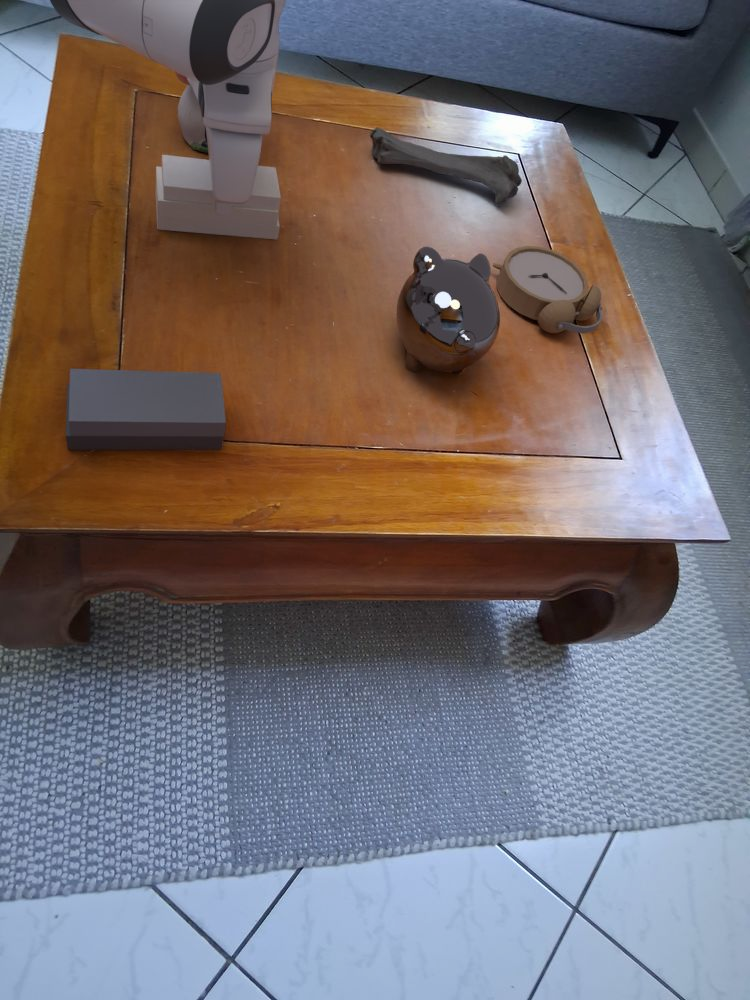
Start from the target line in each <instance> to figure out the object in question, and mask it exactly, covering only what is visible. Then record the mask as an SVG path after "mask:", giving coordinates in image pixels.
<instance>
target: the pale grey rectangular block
mask: <svg viewBox="0 0 750 1000" xmlns="http://www.w3.org/2000/svg"><path fill="white" fill-rule="evenodd" d="M161 167H162V183H163V199H167V200H177V201H188V202H198V203H208V204H215V200H214V197H213V192H212V179H211V170H210V161H209V159H203V158H197V157H188V156H180V155H179V156H178V155H170V154H162V155H161ZM281 198H282V196H281V191H280V184H279V179H278V174H277V168H276V167H275V166H268V165H267V166H266V165H258V168H257V172H256V177H255V181H254V186H253V190H252V194H251V197H250V199H249V200H248V202H247V203H246V204H233V206H239V207H249V208H259V209H270V210H279V211H280V205H281V200H282V199H281Z"/></svg>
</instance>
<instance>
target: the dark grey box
mask: <svg viewBox="0 0 750 1000" xmlns="http://www.w3.org/2000/svg"><path fill="white" fill-rule="evenodd" d="M223 389H224V388H223V378H222V373H221V372H199V371H196V372H195V371H193V372H192V371H162V370H130V369H129V370H127V369H96V368H95V369H94V368H93V369H92V368H91V369H89V368H70V369H69V383H68V384H67V385H66V412H65V413H66V414H65V416H66V417H65V422H66V423H65V441H66V447H67V451H68V450H69V451H71V450H72V451H122V450H123V451H132V450H133V451H171V450H172V451H190V450H191V451H210V450H211V451H212V450H213V451H221V450H223V444H224V439H225V431H226V424H227V420H226V419H227V418H226V409H225V399H224V390H223Z"/></svg>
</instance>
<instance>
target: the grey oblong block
mask: <svg viewBox="0 0 750 1000" xmlns="http://www.w3.org/2000/svg"><path fill="white" fill-rule="evenodd" d="M155 209H156V212H155V213H156V228H157V230H161V231H169V232H170V231H173V232H183V233H195V234H205V235H206V234H207V235H208V234H209V235H219V236H230V237H231V236H232V237H242V238H253V239H266V240H278V238H279V234H280V227H281V225H280V219H279V215H280V209H279V210H270V209H259V208H249V207H239V206H233V210H232V214H231V215H230V216H224V215H218V214H217V213H216V209H215V204H208V203H198V202H188V201H177V200H167V199H163V183H162V166H155Z"/></svg>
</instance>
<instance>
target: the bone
mask: <svg viewBox="0 0 750 1000" xmlns="http://www.w3.org/2000/svg"><path fill="white" fill-rule="evenodd" d="M369 137H370V139H371V140H372V147H371V154H372V155H371V156H372V157H373V158H375V159H377V163H378V164H383V165H401V164H402V165H410V166H414V167H420V168H422V169H423V168H424V169H427V170H430V171H432V172H435V173H438V174H442V175H446V176H451V177H454V178H457V179H462V180H466V181H471V182H474V183H479V184H483V185H484V186H486V187H488V189H490V190H491V191H492V192H493V193H494V195H495V196H494V197H495V201H494V202H495V205H496V206H497V207H501V206H503V205H504V204H505V203H506V202H507V200H508V199H510V198H514V197H515V196H517V194H518V192H519V188H518V187H519V186H521V185H522V182H523V180H522V178H521V176H520V169H519V165H518V163H517V161H515V160H514V159H512V158H510V157H509V156H508V155H506V154H504V155H503V156H499V155H498V156H491V155H467V154H455V153H448V152H447V153H446V152H441V151H437V150H435V149H432V148H429V147H425V146H422V145H419V144H416V143H412V142H409V141H404V140H402V139H399V138H398V137H395V136H394V135H393V134H391V133H389V132H387V131H386V130H385V129H383V128H381V127H378V126H377V127H375V128H374V129H373V130H372V131H371V132H370V133H369Z"/></svg>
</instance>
